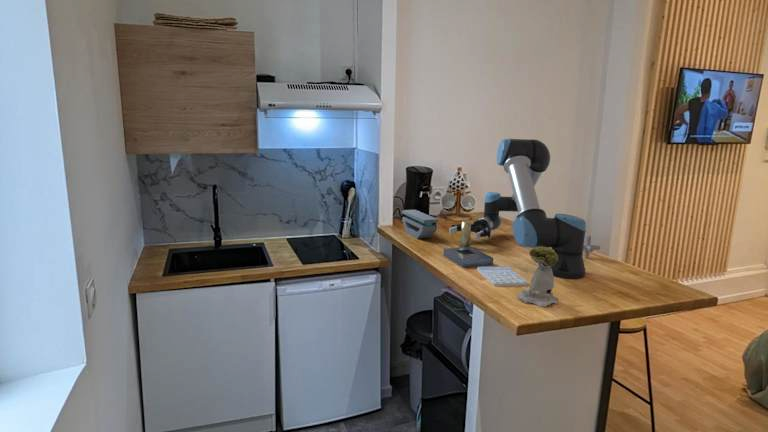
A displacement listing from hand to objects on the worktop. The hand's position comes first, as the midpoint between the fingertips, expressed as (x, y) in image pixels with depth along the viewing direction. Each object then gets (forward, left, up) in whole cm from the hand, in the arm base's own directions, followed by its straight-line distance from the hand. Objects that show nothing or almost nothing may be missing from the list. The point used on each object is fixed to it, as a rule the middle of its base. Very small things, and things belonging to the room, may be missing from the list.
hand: (462, 233), depth 223 cm
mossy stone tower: (-64, +6, -7) cm, 65 cm away
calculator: (-40, +5, -8) cm, 41 cm away
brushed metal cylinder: (+2, -2, -7) cm, 7 cm away
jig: (-17, +7, -7) cm, 20 cm away
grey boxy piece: (+27, +10, -7) cm, 30 cm away
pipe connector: (-27, -47, -7) cm, 55 cm away
